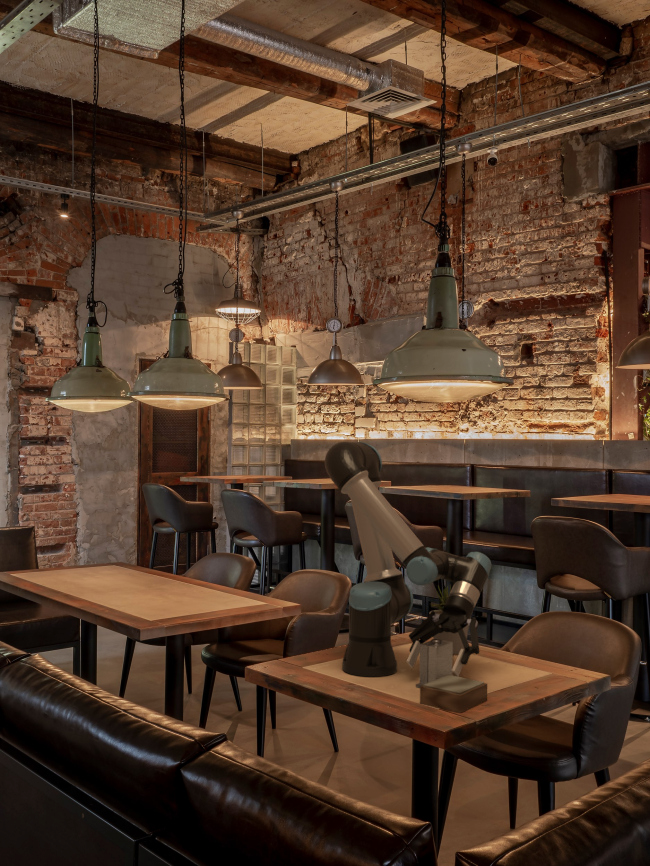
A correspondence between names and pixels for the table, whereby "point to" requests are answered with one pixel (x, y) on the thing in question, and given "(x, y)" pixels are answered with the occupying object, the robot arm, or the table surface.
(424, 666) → the housing
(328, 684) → the table surface
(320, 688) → the table surface
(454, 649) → the potted plant
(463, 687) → the stand
